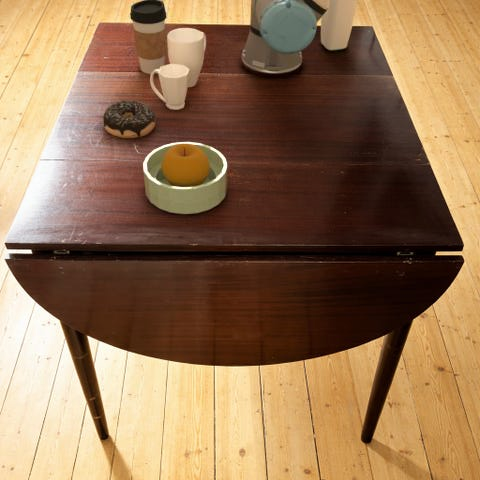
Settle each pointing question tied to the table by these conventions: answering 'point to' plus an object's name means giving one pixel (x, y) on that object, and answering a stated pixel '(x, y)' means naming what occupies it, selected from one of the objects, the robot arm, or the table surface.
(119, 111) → the donut
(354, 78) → the table surface
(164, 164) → the apple
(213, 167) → the serving bowl
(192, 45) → the mug
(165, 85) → the cup
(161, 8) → the coffee cup
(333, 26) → the cup
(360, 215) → the table surface
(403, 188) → the table surface
